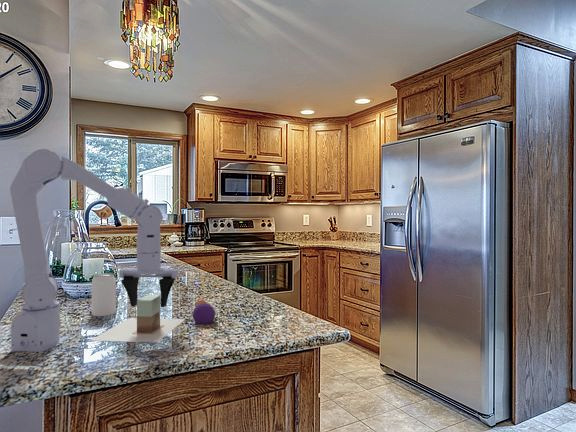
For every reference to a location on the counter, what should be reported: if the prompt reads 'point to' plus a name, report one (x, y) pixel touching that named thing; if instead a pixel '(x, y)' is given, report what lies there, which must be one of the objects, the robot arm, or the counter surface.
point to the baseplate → (129, 331)
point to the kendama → (203, 313)
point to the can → (103, 294)
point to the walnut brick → (148, 323)
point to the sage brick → (148, 305)
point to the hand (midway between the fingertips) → (148, 306)
